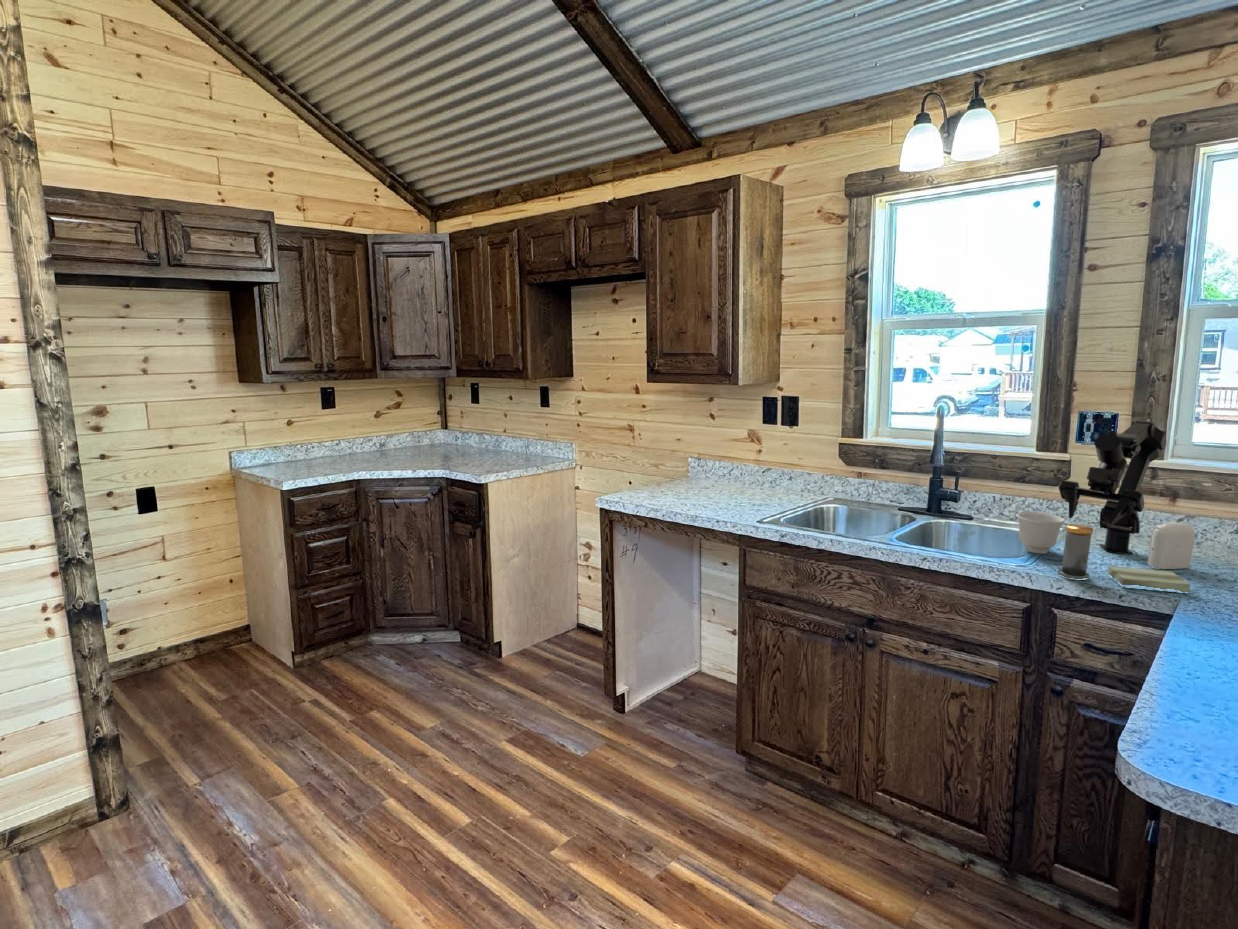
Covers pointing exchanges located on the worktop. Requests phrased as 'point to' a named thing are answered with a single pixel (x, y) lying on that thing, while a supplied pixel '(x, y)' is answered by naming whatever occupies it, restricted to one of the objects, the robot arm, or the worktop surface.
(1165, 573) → the stand
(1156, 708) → the worktop surface
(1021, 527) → the teacup
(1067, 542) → the cylinder
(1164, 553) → the photo printer
